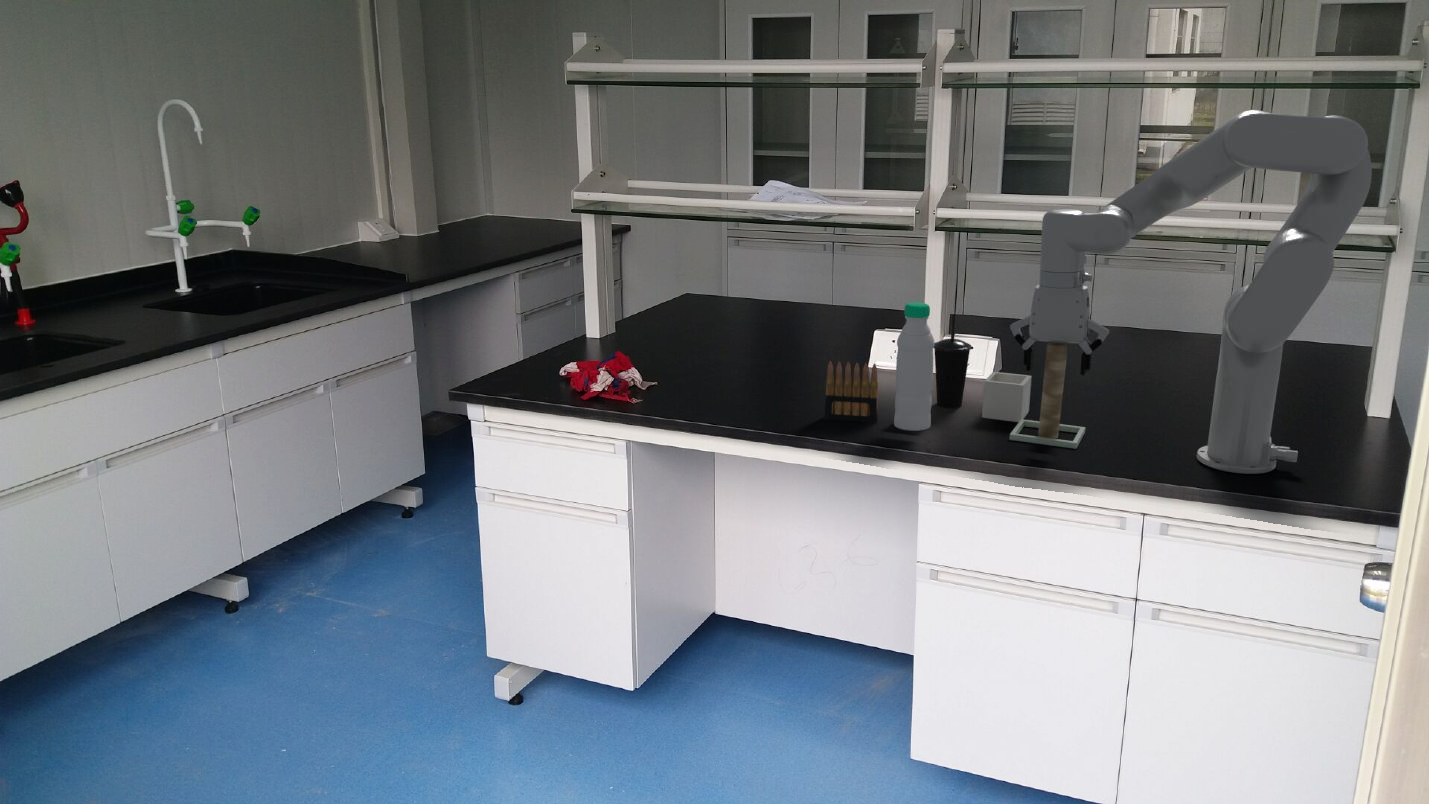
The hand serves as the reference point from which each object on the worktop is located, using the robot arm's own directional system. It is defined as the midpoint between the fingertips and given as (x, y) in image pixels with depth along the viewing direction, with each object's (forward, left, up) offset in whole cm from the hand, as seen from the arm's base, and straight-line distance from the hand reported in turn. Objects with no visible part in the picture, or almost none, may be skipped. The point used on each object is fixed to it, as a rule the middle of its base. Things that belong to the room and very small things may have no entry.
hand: (1056, 371), depth 194 cm
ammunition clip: (+39, +3, -14) cm, 41 cm away
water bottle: (+26, +4, -14) cm, 29 cm away
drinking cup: (+23, -12, -14) cm, 29 cm away
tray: (+1, 0, -14) cm, 14 cm away
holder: (+11, -10, -14) cm, 20 cm away
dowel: (+1, 0, -13) cm, 13 cm away
